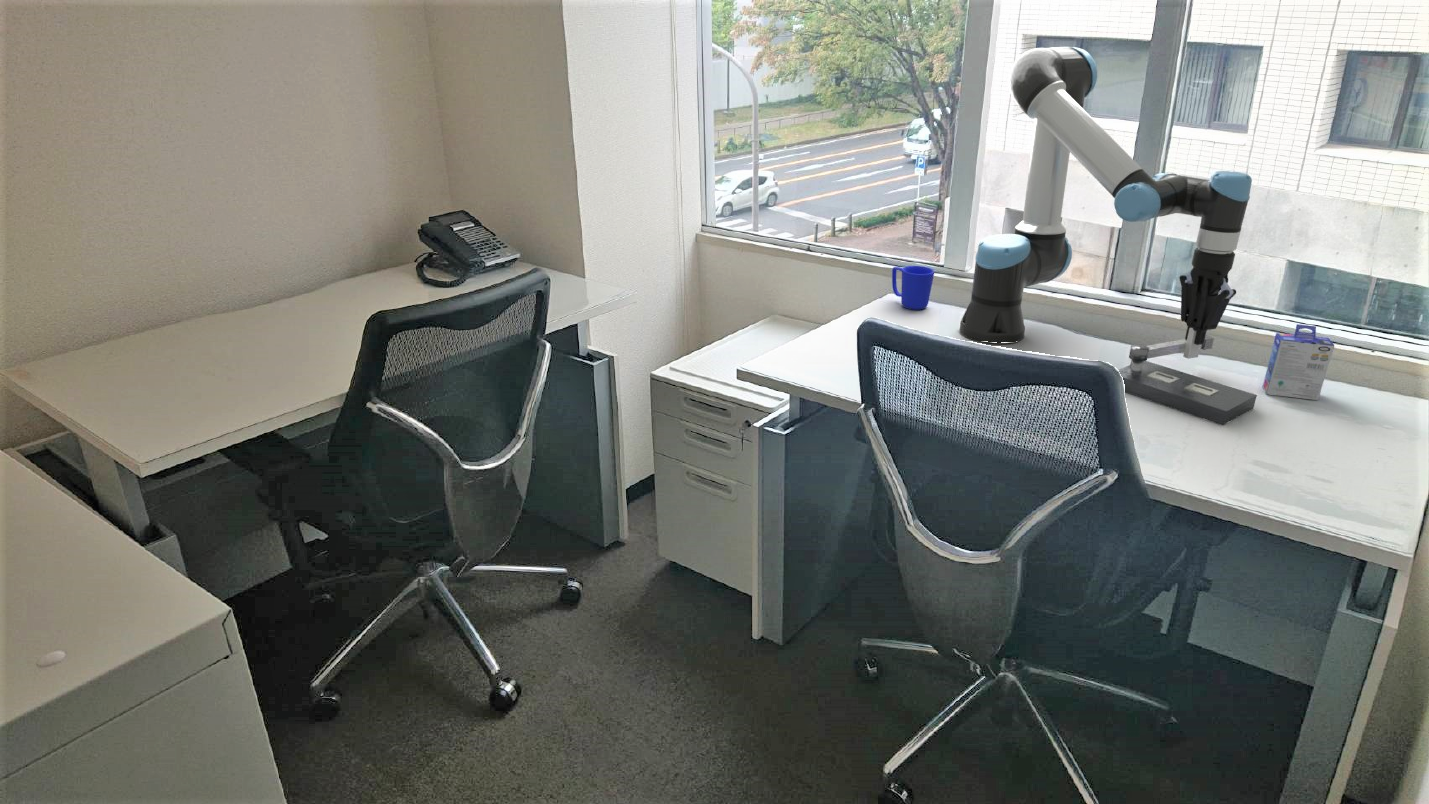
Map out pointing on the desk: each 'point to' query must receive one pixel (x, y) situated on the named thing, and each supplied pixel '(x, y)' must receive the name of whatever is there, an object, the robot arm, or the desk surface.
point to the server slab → (1186, 392)
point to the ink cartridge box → (1298, 364)
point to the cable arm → (1164, 349)
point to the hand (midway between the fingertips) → (1190, 356)
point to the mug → (914, 286)
